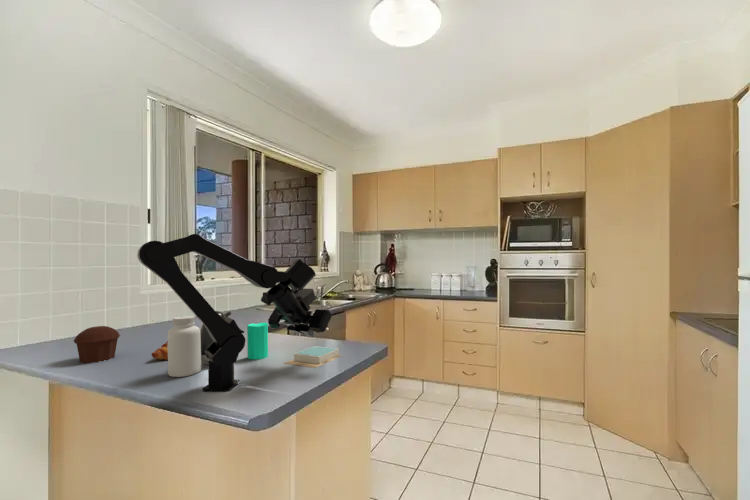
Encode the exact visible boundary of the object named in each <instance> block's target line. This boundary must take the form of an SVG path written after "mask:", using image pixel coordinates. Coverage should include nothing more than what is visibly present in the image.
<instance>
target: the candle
mask: <svg viewBox="0 0 750 500" xmlns="http://www.w3.org/2000/svg"><path fill="white" fill-rule="evenodd" d="M256 321H257V323H250V324H247V329H246V330H247V331H246V332H247V333H246V335H247V339H246V341H247V342H246V343H247V359H248V360H261V359H262V360H263V359H267V358H268V357H269V330H268V329H269V324H268V322H259V319H258V318H257V319H256Z"/></svg>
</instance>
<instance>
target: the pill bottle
mask: <svg viewBox="0 0 750 500" xmlns="http://www.w3.org/2000/svg"><path fill="white" fill-rule="evenodd" d="M195 320H196V316H194V315H185V316H176V317H173V318H172V328H171V329H169V330H168V332H167V340H168V360H167V372H168V376H170V377H172V378H183V377H190V376H193V375H195V374H199V373H200V372H201V370H202V361H201V337H200V330H201V328H200V327H198V326H197V325H195V324H196V321H195Z"/></svg>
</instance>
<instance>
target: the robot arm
mask: <svg viewBox="0 0 750 500" xmlns="http://www.w3.org/2000/svg"><path fill="white" fill-rule="evenodd" d="M189 253H195V254H197V255H199V256H202V257H203V258H205V259H208V260H210V261H212V262H214V263H216V264H218V265H221V266H223V267H224V268H226V269H229V270H231V271H234V272H236V273H237V274H238V275H239V276H241V277H242V278H243V279H245V280H246V281H248V282H249V283H250V284H252V285H253V286H255V287H257V288H261V289H262V288H263V289H268V290H267V291H265V292H262V296H261V298H260V302H262V303H264V304H265V305H267V306H270V305H271V304H274V305H275V308H274V309H273V311H272V313H271V314H270V316H269V318H268V320H267V323H268V326H269V327H271V328H272V329H279V328H280V326H281V324H280V323H281V321H283V322H284V325H286V326H287V331H290V332H293V333H298V334H300V335H302V336H306V337H310V338H314V335H315V333H317V332H318V333H324V332H325V331H326V329H327V327H328V326H329V323H330V321H331V318H332V316H333V314H332V312H331V311H330V310H329V308H328V309H327V308H316V309H315V310H314V312H313V310H312V311H311V306H310V305H311V304H312V303H314V301H316V300H317V297H316V294H315V291H314V288H305V287H306V286H307V285H308V284H309V283H310V282H311V281H312V280H314V278H315V277H316V276H317V275H316V272H315V270H314V269H313V267H311V266H309V265H308V264H307V263H305V262H304V261H302V260H301V259H299V258H298V259H294V261H293V262H292V264H291V265H290V266H289V267H288V268H287V269H286V270H285V271H284V270H283V271H282V270H281V271H280V270H278V269H277V268H276V267H275V266H272V265H269V264H266V263H262V262H259V261H255V260H252V259H248V258H245V257H243V256H241V255H239V254H238V253H235V252H233V251H231V250H229V249H227V248H225V247H223V246H221V245H219V244H217V243H215V242H213V241H210V240H208V239H206V238H205V237H203V236H202V235H201V234H199V233H192V234H190V235H187V236H185V237H182V238H181V237H180V238H177V239H174V240H169V241H166V242H163V241H159V240H150V241H148V242H145V243H144V244H142V245H141V246H140V247H139V248H138V251H137V255H136V257H137V259H138V261H139V262H140V264H142V265H143V266H144V267H146V269H147V270H149V271H151V272H152V273H153V274H155V275H156V276H157V277H159V278H160V279H161V280H162V281H164V282H165V283H166V284H167V285H168V286H169V287H170V288H171V290H173V292H174V293H175V294H176V295H177V296H178V297H179V298H180V300H181V301H182V302H183V303H184V304H185V305H186V306H187V307H188V309H189V310H190V311H191V312H192V313H193V314H194V315H195V317H196V318H197V319H198V320H199V321H200V322H201V323H202V324H204V325H205V327H206V329H207V331H208V333H209V335H210V337H211V339H212V340H213V342H212V343H211V344H210V345H209V346H208V348H207V349H206V350H205V354H206V357H207V358H208V359H209V360H210V361H208V365H207V371H208V373H207V375H208V377H207V378H208V379H207V381H208V382H207V383H208V384H207V385H205V386H203V387H202V388H201V390H202V391H203V392H205V391H207V392H220V391H221V392H227V391H231V390H232V389H233V388H234V387H236V386H237V385H238V383H239V382H240V379H235V363H237V361H238V359H239V354H240V353H241V352H242V351H243V349H244V348H245V345H246V341H247V339H246V338H245V335H244V333H245V330H242V329H241V328H240V327H239V326H238V324H237V322H236V321H235V319H232V318H231V317H230V316H228V317H227V318H226V319H225V320H224V319H222V318H221V317H220V316H219V315H218V314H217V313H216V311H217V310H215V309H214V308H213V307H212V306H211V304H209V302H208V301H207V300H206V299H205V297H204V296H203V295H202V294H201V293H200V292H199V291H198V289H197V288H196V287H195V286H194V285H193V283H192V282H191V281H190V280H189V278H187V276H185V274H184V273H183V272H182V270H181V268H180V266H179V265H178V264H179V263H178V262H177V260H176V257H180V256H184V255H186V254H189Z"/></svg>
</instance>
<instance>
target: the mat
mask: <svg viewBox="0 0 750 500" xmlns="http://www.w3.org/2000/svg"><path fill="white" fill-rule="evenodd" d="M340 357H341V358H342V357H343V355H341V354H339V356H337V357H334V358H332V359H330V360H328V361H325V362H323V363H321V364H316V363H309V362H301V361H294V358H293V359H291V360H288V361H285V362H283V364H285V365H291V366H298V367H304V368H305V367H306V368H313V369H315V368H318V367H320V366H323V365H326V364H327V363H329V362H331V361H334V360H336V359H338V358H340Z"/></svg>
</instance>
